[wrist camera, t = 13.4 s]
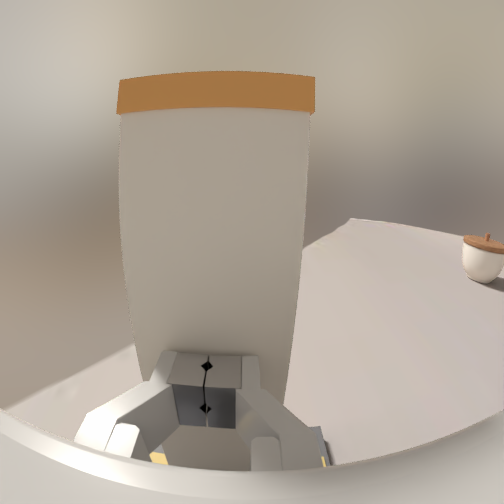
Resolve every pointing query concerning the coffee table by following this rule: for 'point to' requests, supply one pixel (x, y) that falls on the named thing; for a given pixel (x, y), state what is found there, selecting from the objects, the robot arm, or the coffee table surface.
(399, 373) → the coffee table surface
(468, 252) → the lidded jar
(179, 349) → the fader tab
